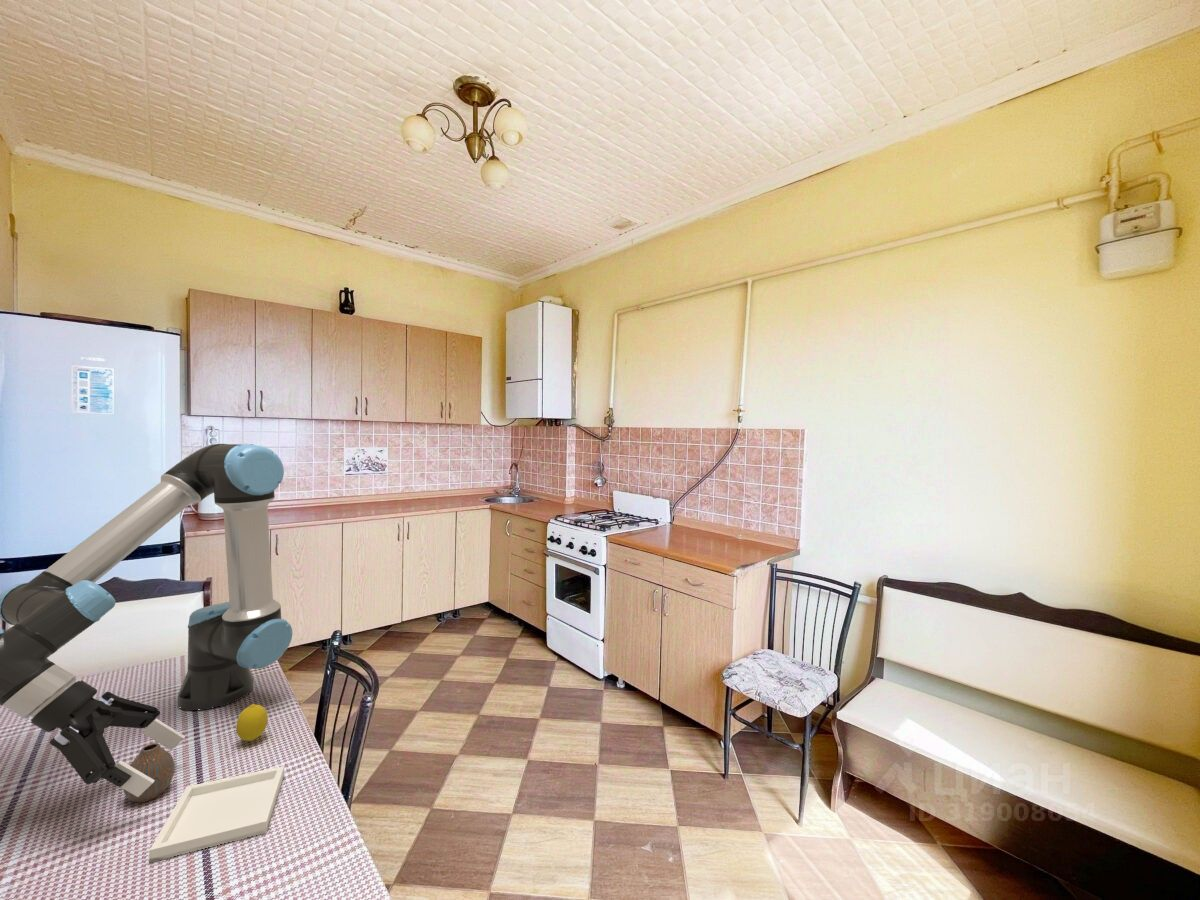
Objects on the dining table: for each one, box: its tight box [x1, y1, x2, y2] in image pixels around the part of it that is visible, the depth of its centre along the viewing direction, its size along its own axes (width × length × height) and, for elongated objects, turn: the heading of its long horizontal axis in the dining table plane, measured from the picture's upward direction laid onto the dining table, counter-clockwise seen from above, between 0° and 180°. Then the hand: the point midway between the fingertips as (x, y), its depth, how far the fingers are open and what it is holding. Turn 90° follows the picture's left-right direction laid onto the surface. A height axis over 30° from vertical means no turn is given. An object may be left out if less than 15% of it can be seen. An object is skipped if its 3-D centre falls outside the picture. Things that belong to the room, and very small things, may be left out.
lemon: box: [235, 703, 269, 743], centre depth 103 cm, size 6×6×8 cm
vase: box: [122, 742, 176, 803], centre depth 87 cm, size 7×7×9 cm
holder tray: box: [148, 765, 285, 864], centre depth 83 cm, size 15×15×2 cm
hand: (163, 764), depth 88 cm, fingers open, 13 cm apart
